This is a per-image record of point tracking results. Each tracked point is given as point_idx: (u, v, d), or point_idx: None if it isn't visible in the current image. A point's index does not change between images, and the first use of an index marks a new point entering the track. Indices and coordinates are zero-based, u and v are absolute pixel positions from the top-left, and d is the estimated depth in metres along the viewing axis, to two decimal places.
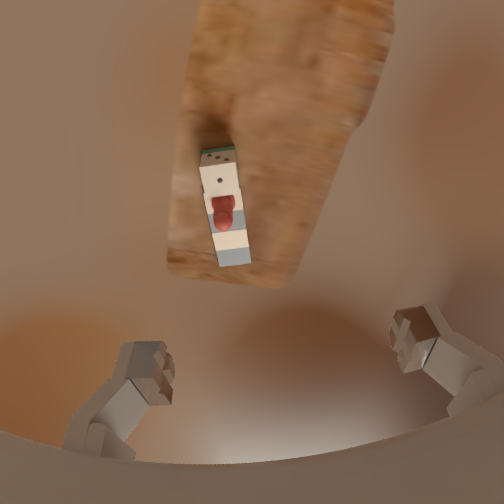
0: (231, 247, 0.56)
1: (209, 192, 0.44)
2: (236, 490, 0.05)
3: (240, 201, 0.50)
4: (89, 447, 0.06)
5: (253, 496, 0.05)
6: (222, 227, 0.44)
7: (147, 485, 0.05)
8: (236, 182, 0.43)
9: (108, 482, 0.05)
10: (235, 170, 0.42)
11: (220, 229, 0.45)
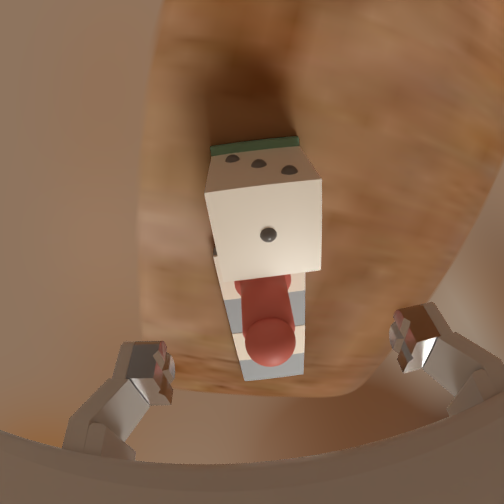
0: None
1: (234, 267, 0.15)
2: (236, 490, 0.05)
3: (302, 274, 0.21)
4: (89, 447, 0.06)
5: (253, 496, 0.05)
6: (271, 362, 0.15)
7: (147, 485, 0.05)
8: (317, 240, 0.15)
9: (108, 482, 0.05)
10: (318, 205, 0.13)
11: (264, 365, 0.16)
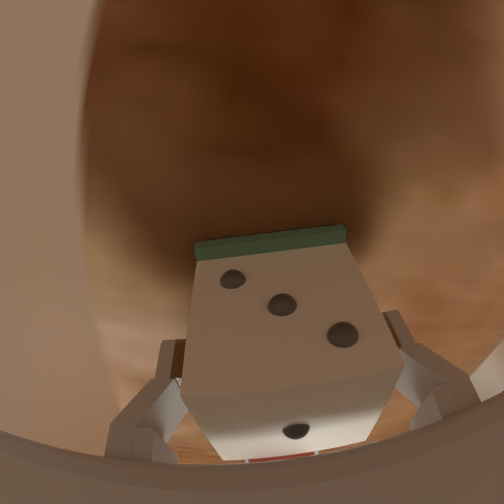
0: None
1: (239, 452, 0.08)
2: (236, 490, 0.05)
3: None
4: (136, 453, 0.06)
5: (253, 496, 0.05)
6: None
7: (147, 485, 0.05)
8: (370, 422, 0.08)
9: (108, 482, 0.05)
10: (386, 392, 0.07)
11: None
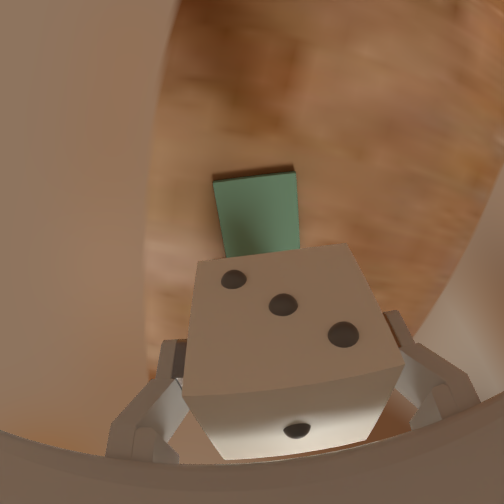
0: None
1: (240, 452, 0.08)
2: (236, 490, 0.05)
3: None
4: (138, 453, 0.06)
5: (253, 496, 0.05)
6: None
7: (147, 485, 0.05)
8: (371, 421, 0.08)
9: (108, 482, 0.05)
10: (387, 392, 0.07)
11: None
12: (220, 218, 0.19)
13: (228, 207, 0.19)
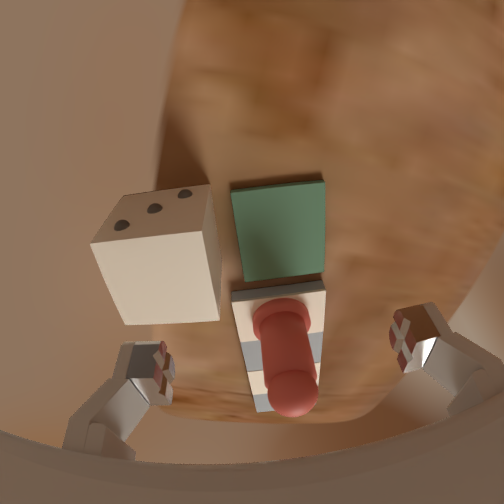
0: None
1: None
2: (236, 490, 0.05)
3: (321, 316, 0.21)
4: (89, 447, 0.06)
5: (253, 496, 0.05)
6: (294, 414, 0.14)
7: (147, 485, 0.05)
8: (113, 295, 0.14)
9: (108, 482, 0.05)
10: None
11: (287, 416, 0.15)
12: (238, 232, 0.17)
13: (248, 220, 0.17)
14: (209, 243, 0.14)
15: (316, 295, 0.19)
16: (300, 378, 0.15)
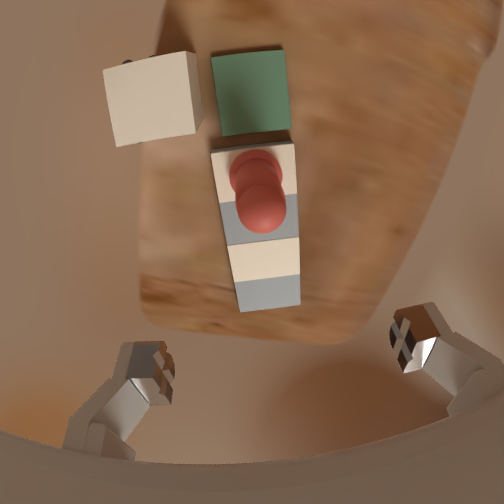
0: (266, 275, 0.28)
1: None
2: (236, 490, 0.05)
3: (293, 175, 0.23)
4: (89, 447, 0.06)
5: (253, 496, 0.05)
6: (262, 222, 0.17)
7: (147, 485, 0.05)
8: (111, 118, 0.16)
9: (108, 482, 0.05)
10: (106, 89, 0.15)
11: (256, 227, 0.17)
12: (216, 89, 0.19)
13: (224, 78, 0.19)
14: (191, 73, 0.16)
15: (285, 148, 0.21)
16: (267, 186, 0.17)
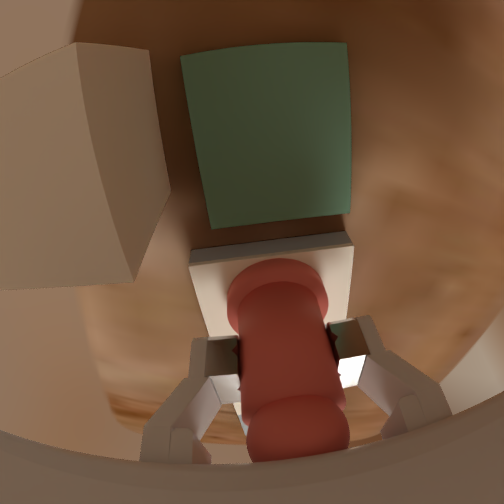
0: None
1: None
2: (236, 490, 0.05)
3: (344, 295, 0.12)
4: (175, 456, 0.06)
5: (253, 496, 0.05)
6: None
7: (147, 485, 0.05)
8: None
9: (108, 482, 0.05)
10: None
11: None
12: (194, 129, 0.09)
13: (211, 104, 0.08)
14: (113, 106, 0.05)
15: (337, 254, 0.11)
16: (315, 414, 0.06)
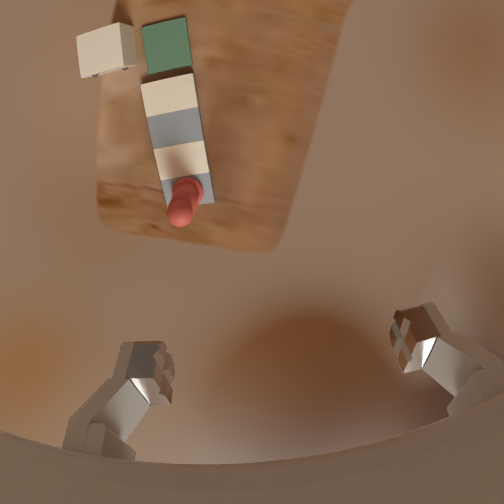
0: (183, 173, 0.35)
1: None
2: (236, 490, 0.05)
3: (194, 94, 0.30)
4: (89, 447, 0.06)
5: (253, 496, 0.05)
6: (177, 220, 0.31)
7: (147, 485, 0.05)
8: (79, 62, 0.23)
9: (108, 482, 0.05)
10: (77, 46, 0.22)
11: (175, 223, 0.31)
12: (144, 45, 0.27)
13: (149, 38, 0.26)
14: (124, 35, 0.23)
15: (187, 76, 0.29)
16: (181, 201, 0.31)
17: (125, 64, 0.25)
